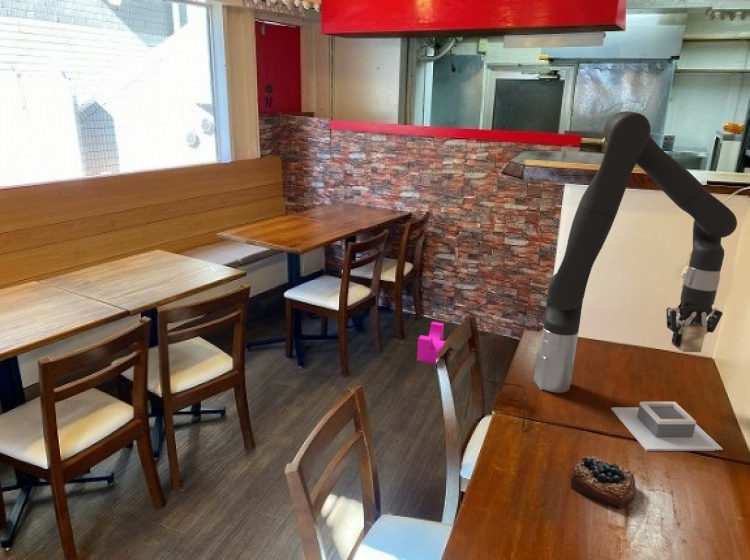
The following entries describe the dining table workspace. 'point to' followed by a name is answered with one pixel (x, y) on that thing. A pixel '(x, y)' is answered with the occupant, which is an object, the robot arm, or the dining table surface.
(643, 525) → the dining table surface
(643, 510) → the dining table surface
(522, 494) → the dining table surface
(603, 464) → the pastry
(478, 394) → the glasses
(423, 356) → the toy block
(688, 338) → the maple block
